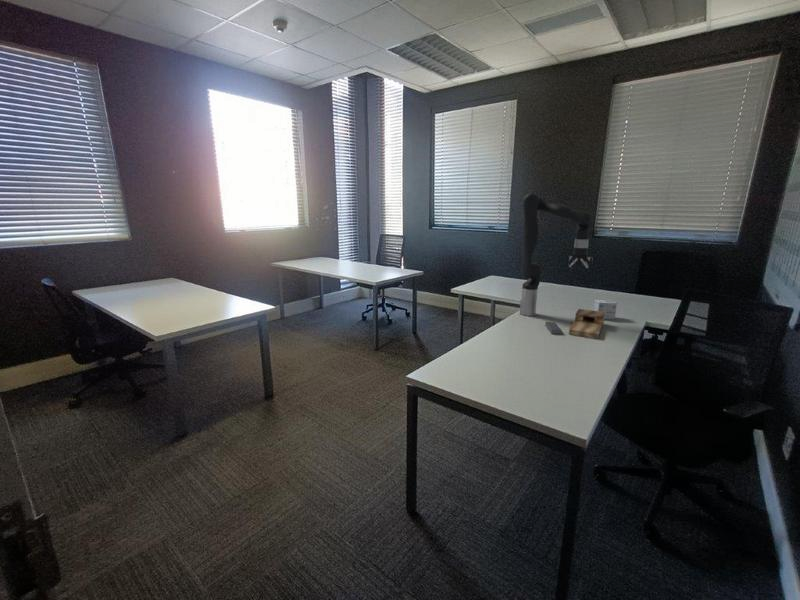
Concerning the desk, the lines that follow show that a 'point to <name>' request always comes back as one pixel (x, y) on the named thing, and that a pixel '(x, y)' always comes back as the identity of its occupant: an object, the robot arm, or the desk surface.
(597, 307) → the light bulb box
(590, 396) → the desk surface
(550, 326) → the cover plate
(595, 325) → the wooden box
